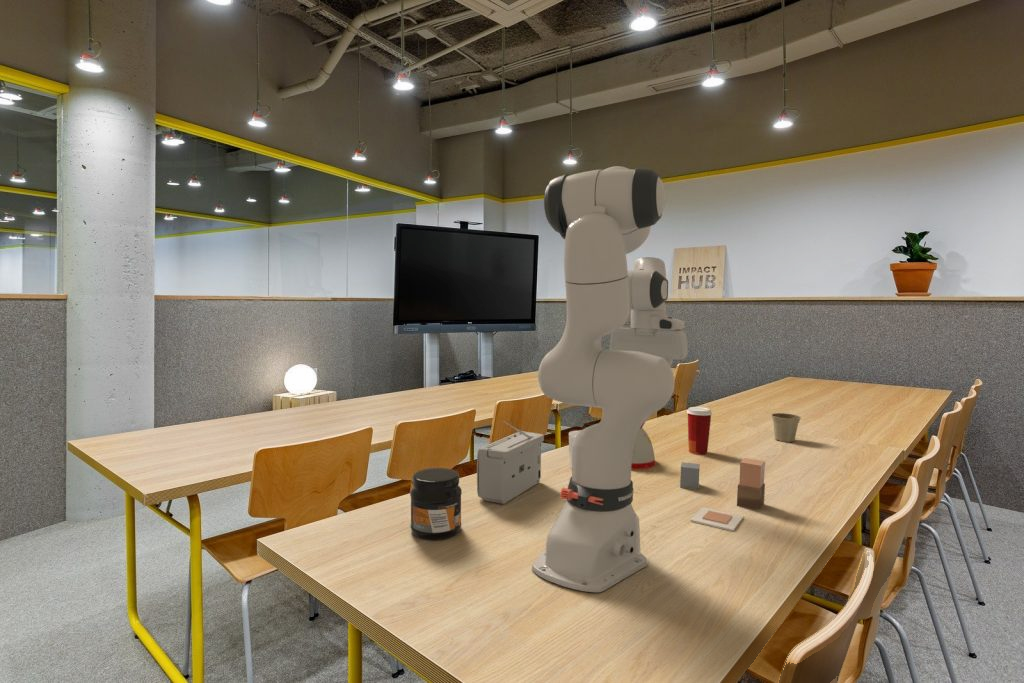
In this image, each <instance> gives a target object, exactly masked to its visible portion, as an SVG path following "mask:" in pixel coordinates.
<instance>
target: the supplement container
mask: <svg viewBox="0 0 1024 683" xmlns="http://www.w3.org/2000/svg"><path fill="white" fill-rule="evenodd" d="M459 484H460V473H459V472H458V471H457V470H454V469H452V468H447V467H446V468H445V467H432V468H425V469H424V468H423V469H421V470H418V471H417V472H414V474H413V475H412V487H411V490H410V491H409V492H410V494H409V496H410V530H411V533H412V534H413V535H415V536H416V537H418V538H420V539H424V540H429V541H430V540H431V541H433V540H435V541H439V540H444V539H448V538H451V537H453V536H455V535H456V534H457V533H459V531H460V530H461V528H462V494H463V490H462V488H461V487H460V485H459Z"/></svg>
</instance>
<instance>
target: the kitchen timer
mask: <svg viewBox="0 0 1024 683" xmlns="http://www.w3.org/2000/svg"><path fill="white" fill-rule="evenodd" d="M644 424H646V421H645V422H644V423H643V425H642V426H641V428H640V429H639V431H638V433H637V436H636V438H635V441H634V446H633V454H632V464H631V470H644V469H650V468H652V467H654V466H655V464H656V463H655V462H656V460H655V458H656V457H655V451H654V450H655V449H654V447H653V443H652V441H651V438H650V436H649V434H648V433H647V432H646V431H645V429H644V428H643V427H644Z"/></svg>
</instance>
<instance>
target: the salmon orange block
mask: <svg viewBox="0 0 1024 683" xmlns="http://www.w3.org/2000/svg"><path fill="white" fill-rule="evenodd" d="M739 462H740V463H739V481H738V482H739V483H738V484H739V485H741V486H747V487H752V488H757V489H760V488H761V487H762V486H763V484H765V467H766V461H765V460H759V459H753V458H748V457H744V458H743V459H742V460H741V461H739Z"/></svg>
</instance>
